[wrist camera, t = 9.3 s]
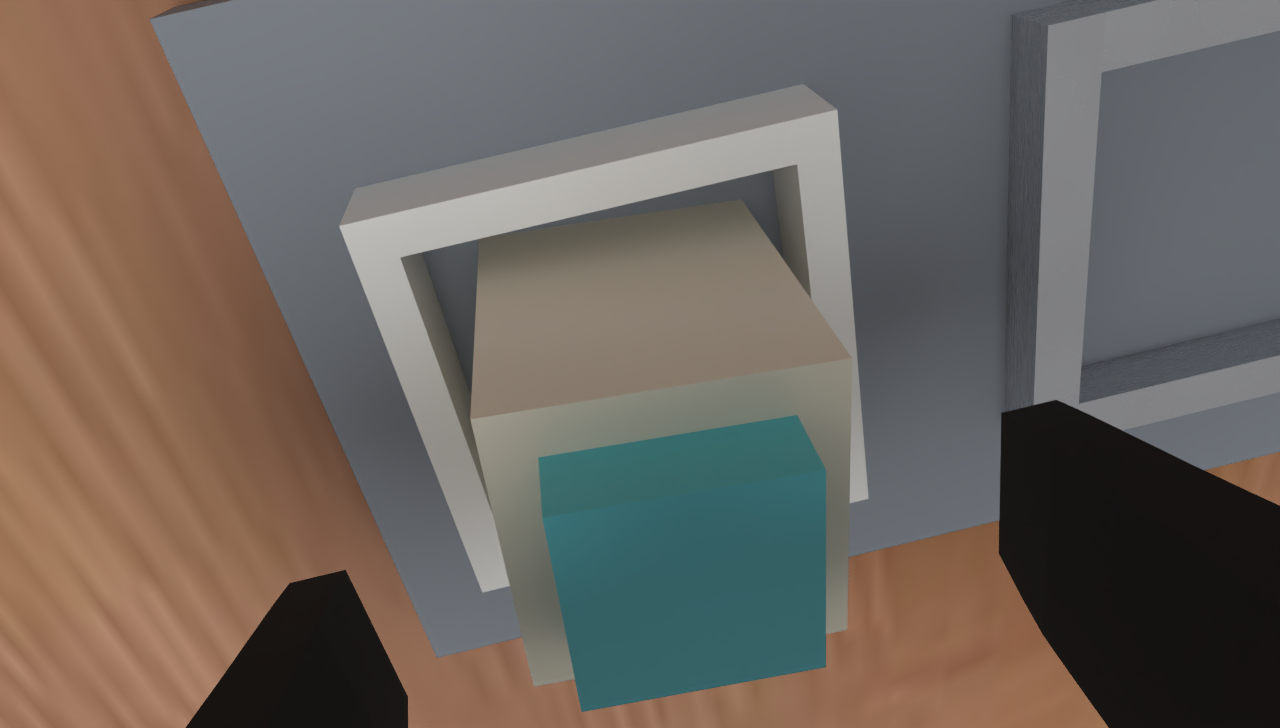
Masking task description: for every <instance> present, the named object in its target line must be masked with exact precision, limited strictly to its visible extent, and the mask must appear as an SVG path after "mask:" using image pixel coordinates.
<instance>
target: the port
mask: <svg viewBox="0 0 1280 728" xmlns="http://www.w3.org/2000/svg"><path fill="white" fill-rule="evenodd" d="M770 170H773V178H774V186H775V194H776V202H777V211H778V219H779V227H780V235H781V244H782V252H783V260H784V261H785V263H786V264H787V265H788V267H789V268H790V270H791V271H792V273H793V274H794V275H795V277H796V278H797V280H798V281H799V283H800V284H801V285H802V287H803V288H804V290H805V291H806V293H807V294H808V296H809V297H810V298H811V300H812V301H813V303H814V304H815V306H816V307H817V308H818V310H819V311H820V313H821V314H822V316H823V317H824V318H825V320H826V321H827V323H828V324H829V326H830V327H831V328H832V330H833V331H834V333H835V334H836V336H837V337H838V338H839V340H840V341H841V343H842V344H843V346H844V347H845V349H846V350H847V351H848V353H849V354H850V356H851V357H852V399H851V452H850V503H853V502H857V501H862V500H866V499H869V497H868V485H867V473H866V460H865V448H864V435H863V423H862V410H861V398H860V385H859V373H858V361H857V348H856V336H855V323H854V311H853V298H852V286H851V274H850V261H849V249H848V236H847V224H846V211H845V199H844V187H843V174H842V162H841V149H840V137H839V124H838V112H837V109H836V108H835V107H833V106H832V105H831V104H829V103H828V102H827V101H825V100H824V99H823V98H821V97H820V96H819V95H818V94H816V93H815V92H814V91H812V90H811V89H810V88H808V87H807V86H806V85H804V84H801V85H797V86H792V87H788V88H784V89H780V90H775V91H771V92H767V93H762V94H758V95H754V96H750V97H745V98H741V99H737V100H732V101H728V102H724V103H719V104H715V105H711V106H707V107H702V108H698V109H694V110H689V111H685V112H681V113H677V114H672V115H668V116H664V117H659V118H655V119H651V120H647V121H642V122H638V123H634V124H629V125H625V126H621V127H617V128H612V129H608V130H604V131H599V132H595V133H591V134H586V135H582V136H578V137H574V138H569V139H565V140H561V141H556V142H552V143H548V144H544V145H539V146H535V147H531V148H526V149H522V150H518V151H514V152H509V153H505V154H501V155H496V156H492V157H488V158H484V159H479V160H475V161H471V162H466V163H462V164H458V165H453V166H449V167H445V168H441V169H436V170H432V171H428V172H423V173H419V174H415V175H411V176H406V177H402V178H398V179H393V180H389V181H385V182H381V183H376V184H372V185H368V186H363V187H359V188H355V190H354V192H353V194H352V197H351V199H350V201H349V204H348V206H347V208H346V211H345V213H344V216H343V218H342V220H341V223H340V225H339V227H340V230H341V232H342V235H343V238H344V240H345V243H346V245H347V248H348V250H349V253H350V255H351V258H352V261H353V263H354V266H355V268H356V271H357V273H358V276H359V278H360V281H361V284H362V286H363V289H364V291H365V294H366V296H367V299H368V302H369V304H370V307H371V309H372V312H373V314H374V317H375V319H376V322H377V325H378V327H379V330H380V332H381V335H382V337H383V340H384V342H385V345H386V348H387V350H388V353H389V355H390V358H391V360H392V363H393V365H394V368H395V371H396V373H397V376H398V378H399V381H400V383H401V386H402V388H403V391H404V394H405V396H406V399H407V401H408V404H409V406H410V409H411V411H412V414H413V417H414V419H415V422H416V424H417V427H418V429H419V432H420V434H421V437H422V440H423V442H424V445H425V447H426V450H427V452H428V455H429V457H430V460H431V463H432V465H433V468H434V470H435V473H436V475H437V478H438V481H439V483H440V486H441V488H442V491H443V493H444V496H445V498H446V501H447V504H448V506H449V509H450V511H451V514H452V516H453V519H454V521H455V524H456V527H457V529H458V532H459V534H460V537H461V539H462V542H463V544H464V547H465V550H466V552H467V555H468V557H469V560H470V562H471V565H472V567H473V570H474V573H475V575H476V578H477V580H478V583H479V585H480V588H481V590H482V593H483V592H487V591H491V590H496V589H500V588H504V587H508V586H510V584H509V580H508V576H507V572H506V568H505V563H504V559H503V555H502V551H501V547H500V542H499V538H498V534H497V530H496V526H495V521H494V517H493V513H492V509H491V504H490V500H489V496H488V492H487V488H486V483H485V479H484V475H483V471H482V467H481V462H480V458H479V454H478V450H477V446H476V441H475V437H474V433H473V429H472V425H471V420H470V415H471V394H470V391H469V388H468V385H467V382H466V379H465V376H464V373H463V370H462V368H461V365H460V362H459V359H458V356H457V353H456V350H455V347H454V344H453V342H452V339H451V336H450V333H449V330H448V327H447V324H446V321H445V318H444V316H443V313H442V310H441V307H440V304H439V301H438V298H437V295H436V292H435V290H434V287H433V284H432V281H431V278H430V275H429V272H428V269H427V266H426V264H425V261H424V258H423V255H422V252H425V251H430V250H434V249H438V248H442V247H447V246H451V245H455V244H459V243H464V242H468V241H472V240H477V239H481V238H485V237H489V236H494V235H498V234H502V233H506V232H511V231H515V230H519V229H523V228H528V227H532V226H536V225H540V224H545V223H549V222H553V221H557V220H562V219H566V218H570V217H574V216H579V215H583V214H587V213H591V212H596V211H600V210H604V209H608V208H613V207H617V206H621V205H625V204H630V203H634V202H638V201H643V200H647V199H651V198H655V197H660V196H664V195H668V194H672V193H677V192H681V191H685V190H689V189H694V188H698V187H702V186H706V185H711V184H715V183H719V182H723V181H728V180H732V179H736V178H740V177H745V176H749V175H753V174H757V173H762V172H766V171H770Z"/></svg>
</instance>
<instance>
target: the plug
mask: <svg viewBox="0 0 1280 728" xmlns="http://www.w3.org/2000/svg"><path fill="white" fill-rule="evenodd" d="M851 399H852V357H851V356H850V354H849V353H848V351H847V350H846V349H845V347H844V346H843V344H842V343H841V341H840V340H839V338H838V337H837V336H836V334H835V333H834V331H833V330H832V328H831V327H830V326H829V324H828V323H827V321H826V320H825V318H824V317H823V316H822V314H821V313H820V311H819V310H818V308H817V307H816V306H815V304H814V303H813V301H812V300H811V298H810V297H809V296H808V294H807V293H806V291H805V290H804V288H803V287H802V285H801V284H800V283H799V281H798V280H797V278H796V277H795V275H794V274H793V273H792V271H791V270H790V268H789V267H788V265H787V264H786V263H785V261H784V260H783V258H782V257H781V255H780V254H779V253H778V251H777V250H776V248H775V247H774V245H773V244H772V243H771V241H770V240H769V238H768V237H767V235H766V234H765V232H764V231H763V230H762V228H761V227H760V225H759V224H758V222H757V221H756V220H755V218H754V217H753V215H752V214H751V212H750V211H749V210H748V208H747V207H746V205H745V204H744V202H743V201H742V200H741V199H740V200H733V201H727V202H720V203H713V204H706V205H699V206H693V207H686V208H679V209H672V210H665V211H659V212H652V213H645V214H638V215H631V216H625V217H618V218H611V219H604V220H597V221H591V222H584V223H577V224H570V225H563V226H557V227H550V228H543V229H536V230H529V231H523V232H516V233H509V234H502V235H495V236H489V237H485V238H481V239H479V254H478V274H477V294H476V314H475V334H474V355H473V375H472V395H471V415H470V420H471V425H472V429H473V433H474V437H475V441H476V446H477V450H478V454H479V458H480V462H481V467H482V471H483V475H484V479H485V483H486V488H487V492H488V496H489V500H490V504H491V509H492V513H493V517H494V521H495V526H496V530H497V534H498V538H499V542H500V547H501V551H502V555H503V559H504V563H505V568H506V572H507V576H508V580H509V584H510V589H511V593H512V597H513V601H514V605H515V610H516V614H517V618H518V622H519V626H520V631H521V635H522V639H523V643H524V647H525V652H526V656H527V660H528V664H529V669H530V673H531V677H532V681H533V685H534V686H539V685H545V684H551V683H556V682H562V681H567V680H573V679H575V682H576V687H577V692H578V697H579V701H580V706H581V711H582V712H584V711H589V710H595V709H600V708H606V707H611V706H616V705H622V704H627V703H633V702H638V701H644V700H649V699H655V698H660V697H666V696H671V695H676V694H682V693H687V692H693V691H698V690H704V689H709V688H715V687H720V686H726V685H731V684H737V683H742V682H747V681H753V680H758V679H764V678H769V677H775V676H780V675H786V674H791V673H797V672H802V671H807V670H813V669H818V668H824V667H826V634H827V633H833V632H838V631H844V630H847V610H848V557H849V504H850V452H851Z"/></svg>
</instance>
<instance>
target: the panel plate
mask: <svg viewBox="0 0 1280 728" xmlns="http://www.w3.org/2000/svg"><path fill="white" fill-rule="evenodd" d="M1065 1H1070V0H205V1H200V2H196V3H191V4H187V5H183V6H178V7H174V8H172V9H170V10H168V11H166V12H164V13H161V14H159V15H157V16H155V17H153V18H151V19H150V21H151V24H152V26H153V28H154V30H155V33H156V35H157V37H158V39H159V41H160V44H161V46H162V48H163V50H164V53H165V55H166V57H167V59H168V61H169V64H170V66H171V68H172V70H173V73H174V75H175V77H176V79H177V81H178V84H179V86H180V88H181V90H182V93H183V95H184V97H185V99H186V101H187V104H188V106H189V108H190V110H191V113H192V115H193V117H194V119H195V121H196V124H197V126H198V128H199V130H200V133H201V135H202V137H203V139H204V141H205V144H206V146H207V148H208V150H209V153H210V155H211V157H212V159H213V161H214V164H215V166H216V168H217V170H218V173H219V175H220V177H221V179H222V181H223V184H224V186H225V188H226V190H227V193H228V195H229V197H230V199H231V201H232V204H233V206H234V208H235V210H236V213H237V215H238V217H239V219H240V221H241V224H242V226H243V228H244V230H245V233H246V235H247V237H248V239H249V241H250V244H251V246H252V248H253V250H254V253H255V255H256V257H257V259H258V261H259V264H260V266H261V268H262V270H263V273H264V275H265V277H266V279H267V281H268V284H269V286H270V288H271V290H272V293H273V295H274V297H275V299H276V301H277V304H278V306H279V308H280V310H281V313H282V315H283V317H284V319H285V321H286V324H287V326H288V328H289V330H290V333H291V335H292V337H293V339H294V341H295V344H296V346H297V348H298V350H299V353H300V355H301V357H302V359H303V361H304V364H305V366H306V368H307V370H308V373H309V375H310V377H311V379H312V381H313V384H314V386H315V388H316V390H317V393H318V395H319V397H320V399H321V401H322V404H323V406H324V408H325V410H326V413H327V415H328V417H329V419H330V421H331V424H332V426H333V428H334V430H335V433H336V435H337V437H338V439H339V441H340V444H341V446H342V448H343V450H344V453H345V455H346V457H347V459H348V461H349V464H350V466H351V468H352V470H353V473H354V475H355V477H356V479H357V481H358V484H359V486H360V488H361V490H362V493H363V495H364V497H365V499H366V501H367V504H368V506H369V508H370V510H371V513H372V515H373V517H374V519H375V521H376V524H377V526H378V528H379V530H380V533H381V535H382V537H383V539H384V541H385V544H386V546H387V548H388V550H389V553H390V555H391V557H392V559H393V561H394V564H395V566H396V568H397V570H398V573H399V575H400V577H401V579H402V581H403V584H404V586H405V588H406V590H407V593H408V595H409V597H410V599H411V601H412V604H413V606H414V608H415V610H416V613H417V615H418V617H419V619H420V621H421V624H422V626H423V628H424V630H425V633H426V635H427V637H428V639H429V641H430V644H431V646H432V648H433V650H434V653H435V655H436V657H437V658H438V657H442V656H446V655H450V654H454V653H459V652H463V651H467V650H471V649H475V648H479V647H483V646H487V645H491V644H495V643H499V642H504V641H508V640H512V639H516V638H520V637H522V635H521V631H520V626H519V622H518V618H517V614H516V610H515V605H514V601H513V597H512V593H511V589H510V586H508V587H504V588H500V589H496V590H491V591H487V592H483V593H482V590H481V588H480V585H479V583H478V580H477V578H476V575H475V573H474V570H473V567H472V565H471V562H470V560H469V557H468V555H467V552H466V550H465V547H464V544H463V542H462V539H461V537H460V534H459V532H458V529H457V527H456V524H455V521H454V519H453V516H452V514H451V511H450V509H449V506H448V504H447V501H446V498H445V496H444V493H443V491H442V488H441V486H440V483H439V481H438V478H437V475H436V473H435V470H434V468H433V465H432V463H431V460H430V457H429V455H428V452H427V450H426V447H425V445H424V442H423V440H422V437H421V434H420V432H419V429H418V427H417V424H416V422H415V419H414V417H413V414H412V411H411V409H410V406H409V404H408V401H407V399H406V396H405V394H404V391H403V388H402V386H401V383H400V381H399V378H398V376H397V373H396V371H395V368H394V365H393V363H392V360H391V358H390V355H389V353H388V350H387V348H386V345H385V342H384V340H383V337H382V335H381V332H380V330H379V327H378V325H377V322H376V319H375V317H374V314H373V312H372V309H371V307H370V304H369V302H368V299H367V296H366V294H365V291H364V289H363V286H362V284H361V281H360V278H359V276H358V273H357V271H356V268H355V266H354V263H353V261H352V258H351V255H350V253H349V250H348V248H347V245H346V243H345V240H344V238H343V235H342V232H341V230H340V227H339V225H340V223H341V220H342V218H343V216H344V213H345V211H346V208H347V206H348V204H349V201H350V199H351V197H352V194H353V192H354V190H355V188H359V187H363V186H368V185H372V184H376V183H381V182H385V181H389V180H393V179H398V178H402V177H406V176H411V175H415V174H419V173H423V172H428V171H432V170H436V169H441V168H445V167H449V166H453V165H458V164H462V163H466V162H471V161H475V160H479V159H484V158H488V157H492V156H496V155H501V154H505V153H509V152H514V151H518V150H522V149H526V148H531V147H535V146H539V145H544V144H548V143H552V142H556V141H561V140H565V139H569V138H574V137H578V136H582V135H586V134H591V133H595V132H599V131H604V130H608V129H612V128H617V127H621V126H625V125H629V124H634V123H638V122H642V121H647V120H651V119H655V118H659V117H664V116H668V115H672V114H677V113H681V112H685V111H689V110H694V109H698V108H702V107H707V106H711V105H715V104H719V103H724V102H728V101H732V100H737V99H741V98H745V97H750V96H754V95H758V94H762V93H767V92H771V91H775V90H780V89H784V88H788V87H792V86H797V85H801V84H804V85H806V86H807V87H808V88H810V89H811V90H812V91H814V92H815V93H816V94H818V95H819V96H820V97H821V98H823V99H824V100H825V101H827V102H828V103H829V104H831V105H832V106H833V107H835V108H836V109H837V112H838V124H839V137H840V149H841V162H842V174H843V187H844V199H845V211H846V224H847V236H848V249H849V261H850V274H851V286H852V298H853V311H854V323H855V336H856V348H857V361H858V373H859V385H860V398H861V410H862V423H863V435H864V448H865V460H866V473H867V485H868V497H869V499H866V500H862V501H857V502H853V503H850V504H849V557H851V556H855V555H859V554H863V553H868V552H872V551H876V550H880V549H884V548H888V547H892V546H896V545H900V544H904V543H908V542H913V541H917V540H921V539H925V538H929V537H933V536H937V535H941V534H945V533H949V532H953V531H958V530H962V529H966V528H970V527H974V526H978V525H982V524H986V523H990V522H994V521H998V520H999V517H1000V458H1001V413H1003V412H1004V401H1005V346H1006V290H1007V235H1008V180H1009V124H1010V69H1011V14H1014V13H1018V12H1022V11H1027V10H1031V9H1035V8H1040V7H1044V6H1048V5H1052V4H1057V3H1061V2H1065ZM740 199H741V200H742V201H743V202H744V204H745V205H746V207H747V208H748V210H749V211H750V212H751V214H752V215H753V217H754V218H755V220H756V221H757V222H758V224H759V225H760V227H761V228H762V230H763V231H764V232H765V234H766V235H767V237H768V238H769V240H770V241H771V243H772V244H773V245H774V247H775V248H776V250H777V251H778V253H779V254H780V255H781V257H782V258H783V252H782V244H781V235H780V227H779V219H778V211H777V202H776V194H775V186H774V178H773V170H770V171H766V172H762V173H757V174H753V175H749V176H745V177H740V178H736V179H732V180H728V181H723V182H719V183H715V184H711V185H706V186H702V187H698V188H694V189H689V190H685V191H681V192H677V193H672V194H668V195H664V196H660V197H655V198H651V199H647V200H643V201H638V202H634V203H630V204H625V205H621V206H617V207H613V208H608V209H604V210H600V211H596V212H591V213H587V214H583V215H579V216H574V217H570V218H566V219H562V220H557V221H553V222H549V223H545V224H540V225H536V226H532V227H528V228H523V229H519V230H515V231H511V232H506V233H502V234H509V233H516V232H523V231H529V230H536V229H543V228H550V227H557V226H563V225H570V224H577V223H584V222H591V221H597V220H604V219H611V218H618V217H625V216H631V215H638V214H645V213H652V212H659V211H665V210H672V209H679V208H686V207H693V206H699V205H706V204H713V203H720V202H727V201H733V200H740ZM502 234H498V235H502ZM494 236H495V235H494ZM478 254H479V239H477V240H472V241H468V242H464V243H459V244H455V245H451V246H447V247H442V248H438V249H434V250H430V251H425V252H422V255H423V258H424V261H425V264H426V266H427V269H428V272H429V275H430V278H431V281H432V284H433V287H434V290H435V292H436V295H437V298H438V301H439V304H440V307H441V310H442V313H443V316H444V318H445V321H446V324H447V327H448V330H449V333H450V336H451V339H452V342H453V344H454V347H455V350H456V353H457V356H458V359H459V362H460V365H461V368H462V370H463V373H464V376H465V379H466V382H467V385H468V388H469V391H470V394H471V395H472V375H473V355H474V334H475V314H476V294H477V274H478ZM1276 319H1280V31H1276V32H1272V33H1267V34H1263V35H1259V36H1255V37H1250V38H1246V39H1242V40H1237V41H1233V42H1229V43H1225V44H1220V45H1216V46H1212V47H1208V48H1203V49H1199V50H1195V51H1191V52H1186V53H1182V54H1178V55H1173V56H1169V57H1165V58H1161V59H1156V60H1152V61H1148V62H1144V63H1139V64H1135V65H1131V66H1127V67H1122V68H1118V69H1114V70H1110V71H1105V72H1102V75H1101V89H1100V103H1099V118H1098V132H1097V147H1096V161H1095V176H1094V190H1093V205H1092V219H1091V234H1090V248H1089V263H1088V277H1087V292H1086V306H1085V321H1084V335H1083V350H1082V364H1081V366H1085V365H1089V364H1093V363H1098V362H1102V361H1106V360H1110V359H1114V358H1118V357H1122V356H1127V355H1131V354H1135V353H1139V352H1143V351H1147V350H1151V349H1156V348H1160V347H1164V346H1168V345H1172V344H1176V343H1180V342H1185V341H1189V340H1193V339H1197V338H1201V337H1205V336H1209V335H1214V334H1218V333H1222V332H1226V331H1230V330H1234V329H1238V328H1243V327H1247V326H1251V325H1255V324H1259V323H1263V322H1267V321H1272V320H1276ZM1122 431H1124V432H1126V433H1128V434H1130V435H1132V436H1134V437H1136V438H1138V439H1141V440H1143V441H1145V442H1147V443H1149V444H1151V445H1153V446H1155V447H1157V448H1159V449H1161V450H1163V451H1165V452H1167V453H1169V454H1171V455H1173V456H1175V457H1177V458H1179V459H1181V460H1183V461H1185V462H1188V463H1190V464H1192V465H1194V466H1196V467H1198V468H1200V469H1202V470H1207V469H1211V468H1215V467H1219V466H1223V465H1228V464H1232V463H1236V462H1240V461H1244V460H1248V459H1252V458H1256V457H1260V456H1264V455H1268V454H1272V453H1277V452H1280V392H1278V393H1274V394H1270V395H1265V396H1261V397H1257V398H1253V399H1249V400H1245V401H1241V402H1237V403H1233V404H1228V405H1224V406H1220V407H1216V408H1212V409H1208V410H1204V411H1200V412H1196V413H1191V414H1187V415H1183V416H1179V417H1175V418H1171V419H1167V420H1163V421H1159V422H1154V423H1150V424H1146V425H1142V426H1138V427H1134V428H1130V429H1126V430H1122Z"/></svg>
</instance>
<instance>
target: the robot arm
mask: <svg viewBox="0 0 1280 728" xmlns="http://www.w3.org/2000/svg"><path fill="white" fill-rule="evenodd" d="M999 554H1000V556H1001V558H1002V560H1003V562H1004V564H1005V566H1006V568H1007V570H1008V572H1009V573H1010V575H1011V577H1012V579H1013V581H1014V583H1015V585H1016V587H1017V589H1018V591H1019V593H1020V594H1021V596H1022V598H1023V600H1024V602H1025V604H1026V605H1027V607H1028V609H1029V611H1030V612H1031V614H1032V616H1033V618H1034V620H1035V621H1036V623H1037V625H1038V627H1039V629H1040V630H1041V632H1042V634H1043V635H1044V637H1045V638H1046V640H1047V641H1048V643H1049V644H1050V646H1051V647H1052V648H1053V650H1054V651H1055V653H1056V654H1057V656H1058V657H1059V658H1060V660H1061V661H1062V663H1063V664H1064V665H1065V667H1066V668H1067V670H1068V671H1069V673H1070V674H1071V675H1072V677H1073V678H1074V680H1075V681H1076V682H1077V684H1078V685H1079V687H1080V688H1081V689H1082V691H1083V692H1084V694H1085V695H1086V696H1087V698H1088V699H1089V701H1090V702H1091V703H1092V705H1093V706H1094V708H1095V709H1096V710H1097V712H1098V713H1099V715H1100V716H1101V717H1102V719H1103V720H1104V721H1105V723H1106V724H1107V726H1108V727H1109V728H1280V506H1279V505H1277V504H1275V503H1272V502H1270V501H1268V500H1266V499H1264V498H1262V497H1259V496H1257V495H1255V494H1253V493H1251V492H1249V491H1246V490H1244V489H1242V488H1240V487H1238V486H1236V485H1234V484H1232V483H1229V482H1227V481H1225V480H1223V479H1221V478H1219V477H1217V476H1215V475H1212V474H1210V473H1208V472H1206V471H1204V470H1202V469H1200V468H1198V467H1196V466H1194V465H1192V464H1190V463H1188V462H1185V461H1183V460H1181V459H1179V458H1177V457H1175V456H1173V455H1171V454H1169V453H1167V452H1165V451H1163V450H1161V449H1159V448H1157V447H1155V446H1153V445H1151V444H1149V443H1147V442H1145V441H1143V440H1141V439H1138V438H1136V437H1134V436H1132V435H1130V434H1128V433H1126V432H1124V431H1122V430H1120V429H1118V428H1116V427H1114V426H1112V425H1110V424H1108V423H1106V422H1104V421H1102V420H1100V419H1097V418H1095V417H1093V416H1091V415H1089V414H1087V413H1085V412H1083V411H1081V410H1078V409H1076V408H1074V407H1072V406H1069V405H1067V404H1065V403H1063V402H1060V401H1058V400H1053V401H1049V402H1044V403H1040V404H1036V405H1032V406H1028V407H1024V408H1019V409H1015V410H1011V411H1007V412H1003V413H1001V458H1000V517H999ZM186 728H408V696H407V694H406V692H405V690H404V688H403V686H402V684H401V682H400V680H399V678H398V676H397V674H396V672H395V670H394V668H393V666H392V664H391V662H390V660H389V657H388V655H387V653H386V651H385V649H384V647H383V645H382V643H381V641H380V639H379V637H378V635H377V633H376V631H375V629H374V627H373V625H372V623H371V621H370V619H369V617H368V615H367V613H366V611H365V609H364V607H363V605H362V603H361V600H360V598H359V596H358V594H357V592H356V590H355V588H354V586H353V584H352V582H351V580H350V578H349V576H348V574H347V572H346V570H343V571H339V572H335V573H331V574H327V575H322V576H318V577H314V578H310V579H306V580H301V581H297V582H293V583H289V585H288V586H287V587H286V589H285V590H284V591H283V593H282V594H281V595H280V597H279V598H278V599H277V601H276V602H275V603H274V605H273V606H272V607H271V609H270V610H269V612H268V613H267V614H266V616H265V617H264V619H263V620H262V621H261V623H260V624H259V626H258V627H257V629H256V630H255V631H254V633H253V634H252V636H251V637H250V638H249V640H248V641H247V643H246V644H245V646H244V647H243V648H242V650H241V651H240V653H239V654H238V656H237V657H236V658H235V660H234V661H233V663H232V664H231V665H230V667H229V668H228V670H227V671H226V673H225V674H224V675H223V677H222V678H221V680H220V681H219V682H218V684H217V685H216V687H215V688H214V689H213V691H212V692H211V693H210V695H209V696H208V698H207V699H206V700H205V702H204V703H203V704H202V706H201V707H200V709H199V710H198V711H197V713H196V714H195V715H194V717H193V718H192V720H191V721H190V722H189V724H188V725H187V727H186Z"/></svg>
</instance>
